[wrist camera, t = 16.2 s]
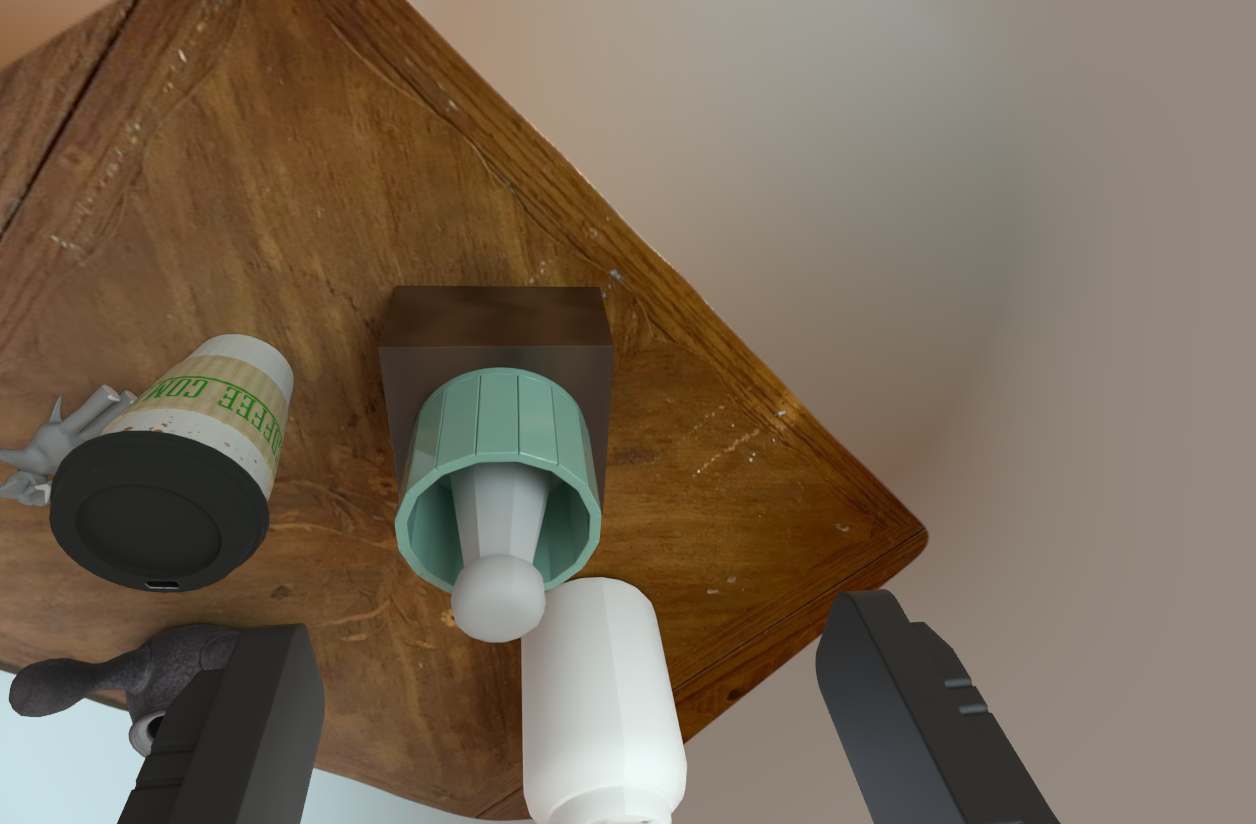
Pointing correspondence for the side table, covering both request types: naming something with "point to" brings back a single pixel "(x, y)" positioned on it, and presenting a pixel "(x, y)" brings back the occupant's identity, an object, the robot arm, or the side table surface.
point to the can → (599, 710)
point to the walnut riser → (496, 350)
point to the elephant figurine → (59, 444)
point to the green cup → (498, 432)
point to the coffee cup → (180, 472)
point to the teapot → (128, 677)
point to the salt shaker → (499, 548)
